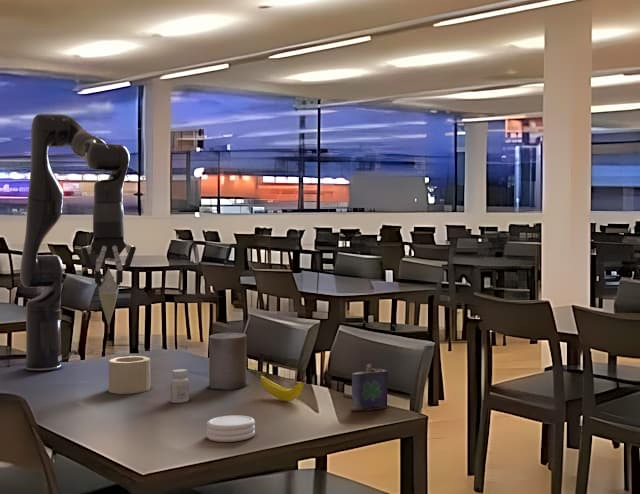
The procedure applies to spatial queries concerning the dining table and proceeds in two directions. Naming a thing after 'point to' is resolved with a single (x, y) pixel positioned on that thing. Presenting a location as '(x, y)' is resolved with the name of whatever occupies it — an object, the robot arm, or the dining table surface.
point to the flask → (369, 389)
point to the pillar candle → (227, 361)
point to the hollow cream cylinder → (129, 374)
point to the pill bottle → (179, 386)
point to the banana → (282, 389)
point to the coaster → (230, 428)
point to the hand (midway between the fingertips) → (108, 285)
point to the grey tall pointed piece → (108, 294)
